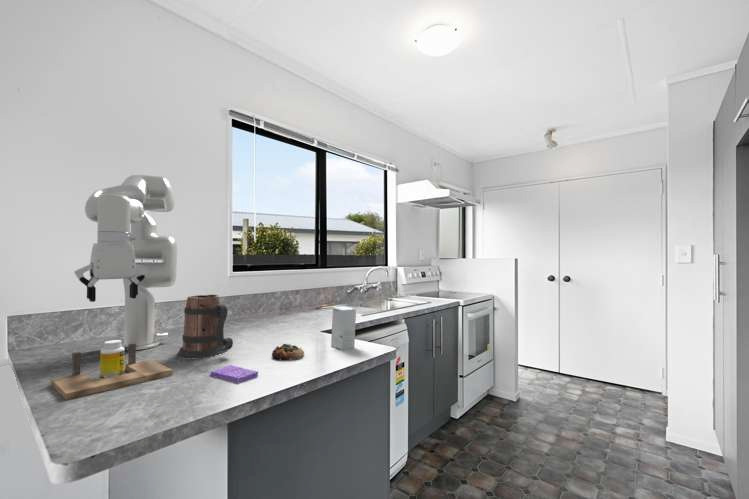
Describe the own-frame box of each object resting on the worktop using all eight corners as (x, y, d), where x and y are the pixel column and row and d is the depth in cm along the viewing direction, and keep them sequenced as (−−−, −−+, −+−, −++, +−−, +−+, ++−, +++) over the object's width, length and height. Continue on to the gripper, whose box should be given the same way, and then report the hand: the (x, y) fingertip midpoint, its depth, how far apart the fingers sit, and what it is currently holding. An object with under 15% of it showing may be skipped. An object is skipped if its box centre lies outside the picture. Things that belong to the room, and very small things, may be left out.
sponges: (238, 384, 100) (238, 377, 100) (209, 376, 106) (209, 370, 106) (258, 377, 106) (259, 371, 106) (230, 370, 112) (230, 364, 112)
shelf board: (149, 363, 117) (150, 340, 117) (172, 374, 106) (172, 348, 106) (50, 384, 98) (50, 355, 98) (65, 399, 88) (66, 368, 88)
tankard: (165, 354, 129) (166, 296, 129) (209, 344, 143) (210, 292, 143) (207, 364, 116) (207, 301, 117) (250, 352, 131) (250, 296, 131)
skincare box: (330, 345, 141) (331, 306, 141) (344, 343, 144) (344, 305, 145) (342, 350, 134) (342, 309, 134) (356, 348, 138) (356, 308, 138)
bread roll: (264, 358, 123) (266, 343, 124) (284, 355, 133) (286, 341, 134) (292, 363, 119) (294, 348, 119) (310, 359, 129) (312, 345, 130)
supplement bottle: (122, 379, 102) (122, 342, 102) (97, 382, 100) (98, 344, 100) (125, 373, 107) (126, 338, 107) (102, 376, 105) (103, 340, 105)
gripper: (143, 240, 113) (142, 295, 113) (71, 238, 100) (70, 301, 99) (152, 239, 108) (152, 297, 108) (79, 237, 95) (78, 304, 95)
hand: (113, 299), depth 104 cm, fingers open, 9 cm apart
